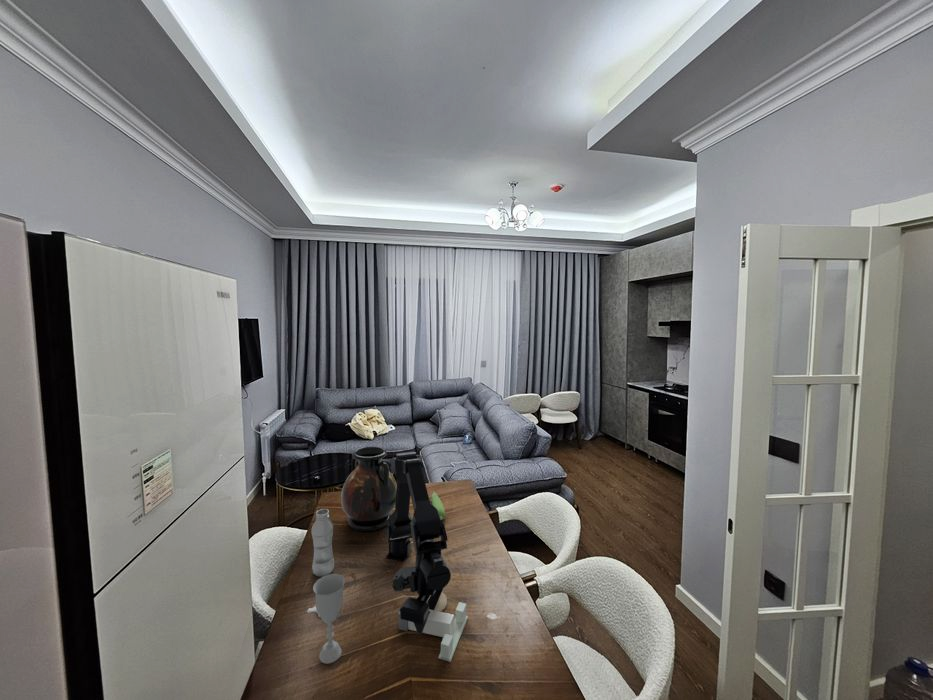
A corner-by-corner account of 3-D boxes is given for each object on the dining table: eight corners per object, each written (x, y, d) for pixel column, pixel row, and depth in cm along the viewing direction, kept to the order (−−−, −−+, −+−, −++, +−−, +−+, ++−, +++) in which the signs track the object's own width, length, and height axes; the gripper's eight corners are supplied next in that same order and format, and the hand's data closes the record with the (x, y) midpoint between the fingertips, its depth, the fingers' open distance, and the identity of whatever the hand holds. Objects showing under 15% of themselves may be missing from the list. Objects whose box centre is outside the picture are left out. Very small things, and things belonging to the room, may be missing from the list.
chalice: (327, 672, 89) (325, 599, 87) (308, 658, 93) (306, 587, 91) (352, 649, 95) (351, 580, 93) (333, 636, 99) (332, 570, 97)
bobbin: (413, 609, 108) (413, 586, 108) (425, 590, 116) (425, 568, 115) (440, 617, 106) (441, 592, 105) (450, 596, 114) (451, 573, 113)
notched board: (438, 658, 93) (438, 643, 93) (457, 615, 107) (457, 601, 106) (450, 662, 93) (450, 646, 92) (467, 617, 106) (468, 604, 105)
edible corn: (432, 514, 151) (444, 509, 152) (427, 491, 171) (437, 488, 171) (436, 526, 152) (447, 521, 153) (431, 502, 171) (441, 498, 172)
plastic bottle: (339, 568, 125) (338, 508, 123) (324, 582, 118) (323, 519, 116) (322, 563, 127) (321, 504, 125) (307, 577, 120) (306, 515, 118)
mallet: (455, 627, 102) (454, 611, 101) (449, 640, 98) (449, 624, 97) (406, 616, 106) (405, 601, 106) (398, 629, 102) (397, 613, 101)
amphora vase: (409, 517, 156) (410, 449, 153) (369, 544, 138) (368, 467, 135) (370, 502, 168) (370, 438, 165) (328, 525, 149) (327, 453, 147)
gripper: (413, 538, 111) (412, 591, 112) (379, 580, 93) (379, 641, 94) (450, 546, 108) (449, 600, 109) (423, 590, 90) (422, 654, 91)
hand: (425, 622), depth 101 cm, fingers open, 7 cm apart
